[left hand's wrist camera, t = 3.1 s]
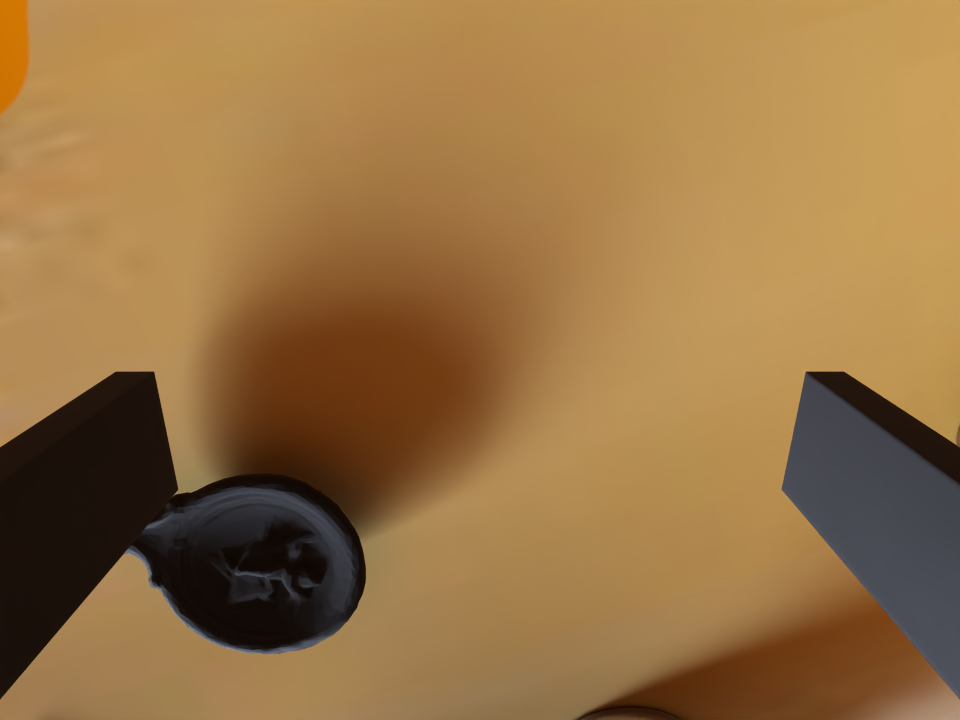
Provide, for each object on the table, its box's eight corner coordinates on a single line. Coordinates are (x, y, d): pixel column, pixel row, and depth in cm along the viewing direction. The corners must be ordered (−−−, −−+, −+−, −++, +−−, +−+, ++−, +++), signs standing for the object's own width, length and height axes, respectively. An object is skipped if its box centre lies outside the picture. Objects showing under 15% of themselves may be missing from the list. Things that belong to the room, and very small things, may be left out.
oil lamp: (147, 392, 42) (106, 424, 38) (404, 492, 45) (395, 533, 41) (101, 550, 47) (60, 596, 42) (336, 631, 50) (321, 683, 45)
